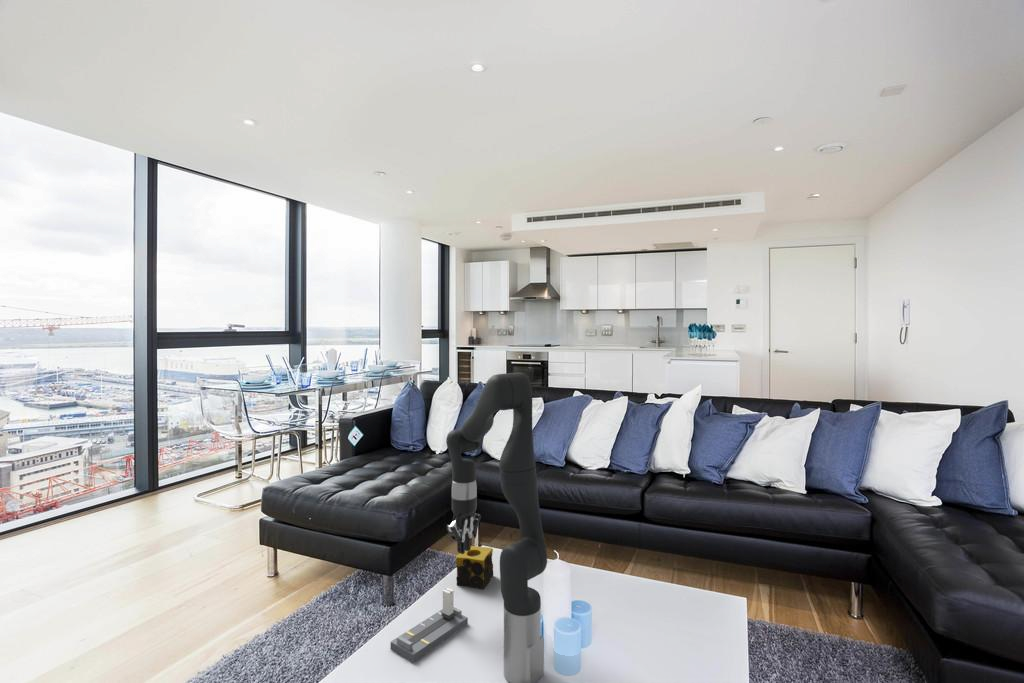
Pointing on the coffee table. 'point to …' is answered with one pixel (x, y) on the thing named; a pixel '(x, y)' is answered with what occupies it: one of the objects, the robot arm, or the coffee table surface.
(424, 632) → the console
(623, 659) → the coffee table surface
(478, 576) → the candle
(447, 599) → the fader
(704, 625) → the coffee table surface
